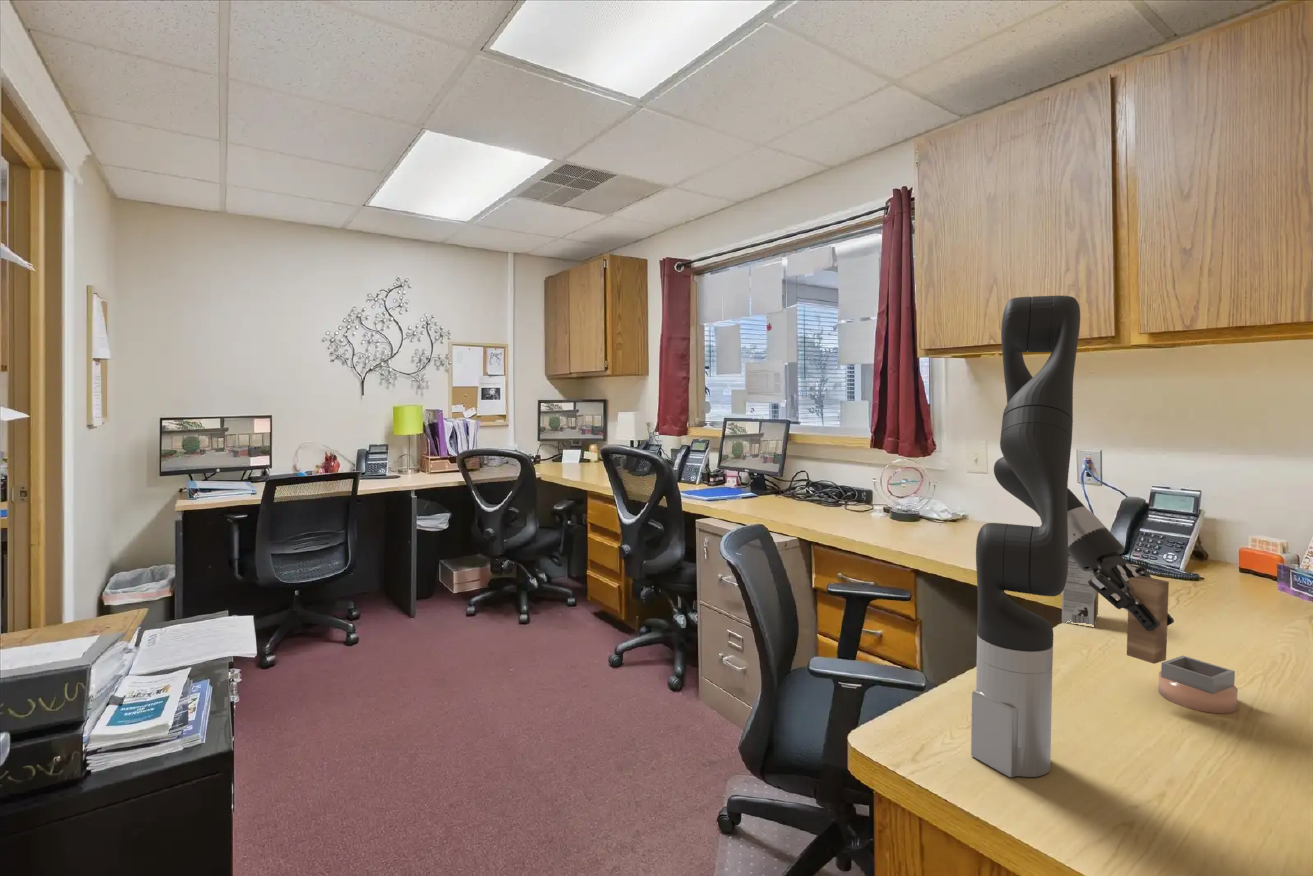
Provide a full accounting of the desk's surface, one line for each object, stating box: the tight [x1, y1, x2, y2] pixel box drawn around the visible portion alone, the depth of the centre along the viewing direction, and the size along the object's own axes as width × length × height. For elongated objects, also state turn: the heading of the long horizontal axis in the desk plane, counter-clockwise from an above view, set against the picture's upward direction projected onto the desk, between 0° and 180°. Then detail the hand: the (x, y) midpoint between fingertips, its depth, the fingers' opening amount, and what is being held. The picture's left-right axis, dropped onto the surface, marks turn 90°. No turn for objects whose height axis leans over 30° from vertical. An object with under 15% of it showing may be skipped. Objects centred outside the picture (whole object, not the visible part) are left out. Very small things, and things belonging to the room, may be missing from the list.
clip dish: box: [1157, 655, 1239, 714], centre depth 105 cm, size 10×10×6 cm
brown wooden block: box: [1126, 576, 1170, 665], centre depth 104 cm, size 4×4×13 cm
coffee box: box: [1061, 554, 1099, 626], centre depth 143 cm, size 9×6×16 cm
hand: (1161, 626), depth 102 cm, fingers closed on brown wooden block, 3 cm apart
